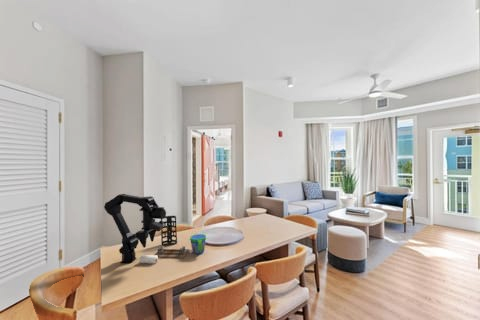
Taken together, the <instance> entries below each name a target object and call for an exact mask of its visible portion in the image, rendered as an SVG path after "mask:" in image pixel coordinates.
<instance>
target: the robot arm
mask: <svg viewBox="0 0 480 320" xmlns="http://www.w3.org/2000/svg"><path fill="white" fill-rule="evenodd" d="M124 202H125V203H129V204H135V205H138V206H139V207H141V208H140V209H138V210H139V212H142V220H141V223H142V227H141V230H138V231H137V232H135V233H133V232H131V230H130V228H129V225H128V224H127V222H126V221H125V218H124V216H123V214H122V204H123V203H124ZM103 208H104V210H105V211H106V213H107V214H108V215H110V216H111V217H112V218H113V221H114V222H115V224H116V227H117V229H118V231H119V233H120V235H121V237H122V238H121V244H122V246H121V247H120V248H119V249H118V251H119V254H121V261H120V264H131V263H133V262H134V261H136V260H137V257H136V250H135V249H137V246H138V245H139V242H140V244H141V246H142V248H146V246H147V239H148V238H150V241H151V243H153V242H154V240H155V236H156V233H157V232H161V230H162V227H164V224H163V222H164V220H163V219H166V218H165V216H167V212H166V209H165V207H164V206H159V204H158V203H157V202H156V200H155V198H154V196H150V195H149V196H138V195H131V194H125V193H119V194H117V195H116V196H115V197H114V198H113V197H112V199H110V200H109V201H107V202H105V203H104V205H103ZM157 219H159V221H156V220H157ZM161 219H162V221H161Z"/></svg>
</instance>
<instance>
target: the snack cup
mask: <svg viewBox="0 0 480 320" xmlns="http://www.w3.org/2000/svg"><path fill="white" fill-rule="evenodd" d="M206 240H207V235H206V234H203V233H196V234H192V235H191V236H190V237H189V241H190V244H191V250H192V253H193V254H194V255H195V254H196V255H197V254H199V255H200V254H202V253H205V248H206Z"/></svg>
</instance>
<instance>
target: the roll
mask: <svg viewBox="0 0 480 320" xmlns="http://www.w3.org/2000/svg"><path fill="white" fill-rule="evenodd" d="M158 260H159V258H158V256H157V255H154V254H150V255H149V254H148V255H146V254H144V255H143V254H142V255H141V256H140V257H139V264H153V265H154V264H157V262H158Z"/></svg>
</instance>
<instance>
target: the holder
mask: <svg viewBox="0 0 480 320" xmlns="http://www.w3.org/2000/svg"><path fill="white" fill-rule="evenodd" d="M164 219H166V221H163V219H160V221H163V224H164V226H163V227H162V230H160V234H161V235H160V236H161V242H160V243H161V246H172V245H177V244H178V233H177V232H178V231H177V215H166V216H165V218H164ZM173 219H174V220H173ZM173 228H175V229H174V230H173ZM163 229H166V230H163ZM163 234H164V236H163ZM173 238H175V239H173ZM164 239H166V240H164Z"/></svg>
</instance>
